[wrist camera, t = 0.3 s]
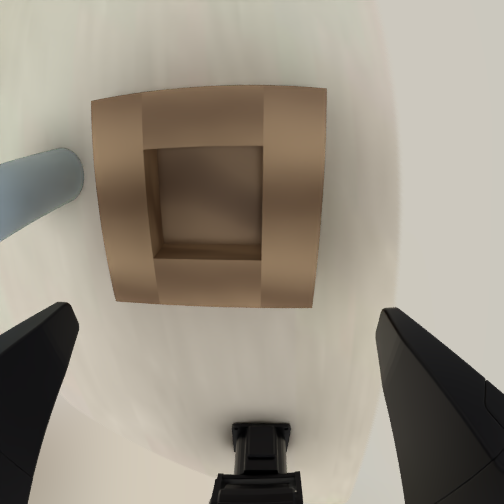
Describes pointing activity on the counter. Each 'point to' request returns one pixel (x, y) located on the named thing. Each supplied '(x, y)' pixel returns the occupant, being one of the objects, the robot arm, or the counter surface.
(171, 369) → the counter surface
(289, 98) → the holder
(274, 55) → the counter surface
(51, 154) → the peg
